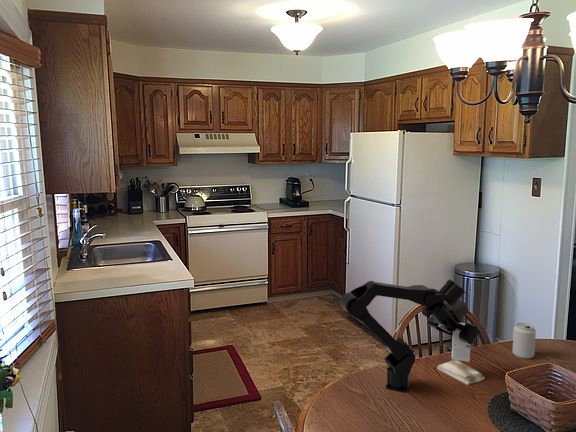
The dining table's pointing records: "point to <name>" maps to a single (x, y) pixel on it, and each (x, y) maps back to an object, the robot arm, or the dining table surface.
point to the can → (524, 340)
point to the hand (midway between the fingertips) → (464, 339)
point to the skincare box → (460, 348)
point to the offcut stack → (461, 372)
